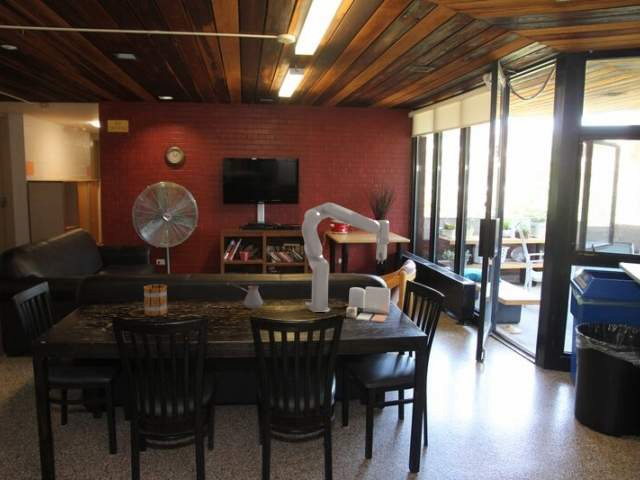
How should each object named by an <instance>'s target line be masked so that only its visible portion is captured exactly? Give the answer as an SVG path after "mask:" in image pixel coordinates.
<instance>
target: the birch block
mask: <svg viewBox="0 0 640 480" xmlns="http://www.w3.org/2000/svg"><path fill="white" fill-rule="evenodd" d="M345 313H346V314H345V316H346V318H350V319H351V318H353V319H356V318H357V317H358V308H357V307H349V306H348V307H347V308H346V312H345Z"/></svg>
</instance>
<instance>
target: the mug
mask: <svg viewBox="0 0 640 480" xmlns="http://www.w3.org/2000/svg"><path fill="white" fill-rule="evenodd" d="M167 291H168V285H166V284H160V283H159V284H157V283H156V284H148V285H143V297H144V298H143V305H144V312H143V315H146V316H162V315H166V314H168V294H167Z"/></svg>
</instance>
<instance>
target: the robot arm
mask: <svg viewBox="0 0 640 480" xmlns="http://www.w3.org/2000/svg"><path fill="white" fill-rule="evenodd" d="M303 218H304V220H303V222H302V224H301V225H302V226H301V233H302V238H303V241H304V247H303V248H304V252H305V255H306V259H307V261H308V265H309V267H310V268H311V270H312V275H311V277H312V278H311V301H310V302H307V301H305V302H304V306H306V307H308V311H309V310H311V311H314V312H313V313H315V312H325V313H329V312H330V311H331V308H330V307H328V306H329V305H328V300H329V275H330V264H329V261H328V260H327V259H325V258H324V256H323V246H322V243H321V240H320V237H319V235H318V230H317V227H318V225H319V224H320V223H321V221H322V220H324V219H327V218H330V219H333V220H335V221H338V222H341V223H342V224H345V225H347V226H351V227H355V228H358V229H360V230H363V231H365V232H367V233H370V234H374V235H375V234H376V239H375V243H376V252H375V253H376V256H375V260H376V261H377V271H383V270H384V268H386V267H387V257H388V256H387V255H388V244H390V243H389V242H390V222H389V220H387V219H379V220H374V219H372V218H369V217H366V216H364V215H362V214H359V213H358V212H355V211H353V210H351V209H349V208H346V207H344V206H341V205H339V204H336V203H334V202H325V203H323V204H320V205H317V206H315V207H312V208H310V209H308V210H307V211H306V212H305V213H304V217H303ZM311 311H310V312H311Z"/></svg>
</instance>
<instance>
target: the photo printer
mask: <svg viewBox="0 0 640 480" xmlns="http://www.w3.org/2000/svg"><path fill="white" fill-rule="evenodd" d="M348 294H349V295H348V307H357V309H363V310H364V309H365V289H364V288H362V287H354V286H353V287H350V288H349V293H348Z"/></svg>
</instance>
